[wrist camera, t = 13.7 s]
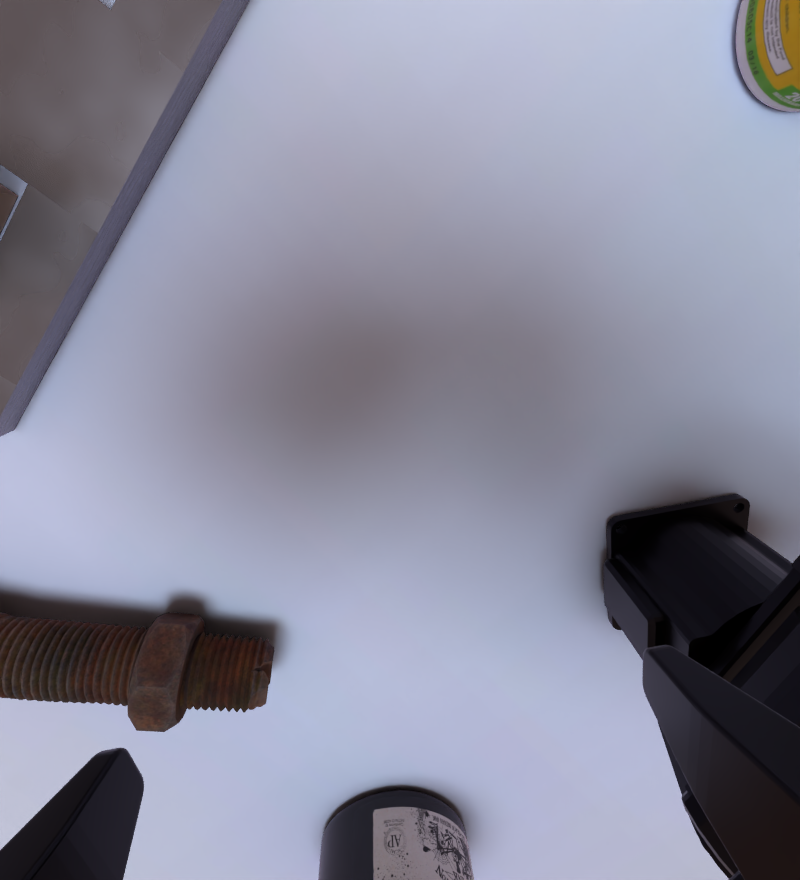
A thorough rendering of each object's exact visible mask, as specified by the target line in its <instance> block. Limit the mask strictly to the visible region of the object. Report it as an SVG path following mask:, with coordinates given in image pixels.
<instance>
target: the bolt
mask: <svg viewBox="0 0 800 880" xmlns="http://www.w3.org/2000/svg"><path fill="white" fill-rule="evenodd" d="M204 624H205V623H204V621H203V620H202V618H201V617H200V616H199V615H194V614H184V613H173V612H171V613H166V614H164V615H161V616H159V617H158V618H156V619H155V621H154V622H153V624H152V625H151V627H150V628H149V629H147V630H146V629H145V627H141V628H140V629H138V627H137V626H134V627H132V628H130V626H128V625H127V626H125V627H122V625H118V626H115V625H114V624H111V625H107V624H101V625H100V624H98V623H93V624H91V623H90V622H86V623H83V622H81V621H80V622H75V621H69V622H68V621H66V620H62V621H59V620H57V619H55V620H51V619H44V620H43V619H42V618H37V619H35V618H29V617H28V618H26V617H17V616H11V615H9V614H7V613H0V697H1V698H11V699H19V700H23V699H27V700H37V701H43V700H45V701H49V702H51V701H54V702H59V701H62V702H67V703H68V702H69V701H70V702H73V703H76V702H81V703H86V702H90V703H95V702H97V703H100V704H102V703H104V702H105V703H106V704H108V705H109V704H111V703H113V704H114V705H119V704H120V703H121V704H122V705H123V706H126V705H128V717H129V718H130V720H131V722H132V723H133V725H134V727H135V728H136V730H138V731H157V732H165V731H166V730H168V729H170V728H171V727H173V726H175V725H176V724H177V723H179V722H180V720H181V719H182V718H183V716H184V714H185V712H186V709H187V708H188V709H191V708H192V707H193V706H194V708H195V709H197V710H198V709H199V708H200V707H202V708H203V709H204V710H207V709H208V708H209V707H210V708H211V710H213V711H214V710H215V709H216V708H217V707H218V708H219V710H220V711H222V710H223V709H224V708H225V707H226V709H227V710H228V711H229V712H230V710H231V709H232V708H234V710H235V711H236V712H238V710H239V709H240V708H241V709H242V711H243V712H245V711H246V710H247V709H248V708H249V709H250V710H253V709H254V708H256V707H261V706H263V705H264V704H265V703H266V699H267V691H268V685H269V684H270V678H271V669H272V661H273V654H274V647H273V646H272V645H271V644H270V642H269V640H268V639H266V640H265V641H264V642H263V640H262V638H261V637H260V638H259V639H258V640H256V638H255V636H254V637H253V638H252V639H251V640H250V639H249V637H248V636H247V637H245V638H244V639H242V637H241V635H240V636H239V637H237V638H236V639H235V637H234V635H232V636H230V637H229V638H228V637H227V635H226V634H225V635H224V636H222V637H220V634H219V633H218V634H217V635H216V636H214V637H213V635H212V633H210V634H209V635H208V636H206V635H205V632H204Z"/></svg>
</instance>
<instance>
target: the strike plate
mask: <svg viewBox="0 0 800 880" xmlns="http://www.w3.org/2000/svg"><path fill="white" fill-rule="evenodd" d="M248 2H249V0H116V1H115V3H114V5H113V7H112V9H111V10H110V9H108V8H107V7H106V6H105V5H104V4H103V3H101V2H100V1H99V0H0V164H1V165H2V166H4V167H5V168H6V169H8V170H9V171H11V172H12V173H13V174H15V175H16V176H18V177H19V178H21V179H22V180H23V181H25V182H26V183H28V185H27V187H26V189H25V191H24V194H23V196H22V198H21V200H20V202H19V204H18V206H17V208H16V210H15V212H14V214H13V217H12V219H11V221H10V223H9V225H8V227H7V229H6V231H5V233H4V235H3V238H2V240H1V242H0V436H2V435H4V434H7V433H9V432H11V431H13V430H14V429H15V427H16V425H17V423H18V421H19V420H20V418H21V416H22V414H23V412H24V410H25V409H26V407H27V405H28V403H29V401H30V400H31V398H32V396H33V394H34V392H35V390H36V389H37V387H38V385H39V383H40V381H41V379H42V378H43V376H44V374H45V372H46V370H47V369H48V367H49V365H50V363H51V361H52V359H53V358H54V356H55V354H56V352H57V350H58V348H59V347H60V345H61V343H62V341H63V339H64V338H65V336H66V334H67V332H68V330H69V328H70V327H71V325H72V323H73V321H74V319H75V317H76V316H77V314H78V312H79V310H80V308H81V307H82V305H83V303H84V301H85V299H86V297H87V296H88V294H89V292H90V290H91V288H92V287H93V285H94V283H95V281H96V279H97V277H98V276H99V274H100V272H101V270H102V268H103V266H104V265H105V263H106V261H107V259H108V257H109V256H110V254H111V252H112V250H113V248H114V246H115V245H116V243H117V241H118V239H119V237H120V235H121V234H122V232H123V230H124V228H125V226H126V225H127V223H128V221H129V219H130V217H131V215H132V214H133V212H134V210H135V208H136V206H137V205H138V203H139V201H140V199H141V197H142V195H143V194H144V192H145V190H146V188H147V186H148V184H149V183H150V181H151V179H152V177H153V175H154V174H155V172H156V170H157V168H158V166H159V164H160V163H161V161H162V159H163V157H164V155H165V153H166V152H167V150H168V148H169V146H170V144H171V143H172V141H173V139H174V137H175V135H176V133H177V132H178V130H179V128H180V126H181V124H182V122H183V121H184V119H185V117H186V115H187V113H188V112H189V110H190V108H191V106H192V104H193V102H194V101H195V99H196V97H197V95H198V93H199V92H200V90H201V88H202V86H203V84H204V82H205V81H206V79H207V77H208V75H209V73H210V71H211V70H212V68H213V66H214V64H215V62H216V61H217V59H218V57H219V55H220V53H221V51H222V50H223V48H224V46H225V44H226V42H227V40H228V39H229V37H230V35H231V33H232V31H233V30H234V28H235V26H236V24H237V22H238V20H239V19H240V17H241V15H242V13H243V11H244V9H245V8H246V6H247V4H248Z"/></svg>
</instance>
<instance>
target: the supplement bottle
mask: <svg viewBox="0 0 800 880" xmlns="http://www.w3.org/2000/svg"><path fill="white" fill-rule="evenodd" d="M736 54H737V60H738V65H739V68H740V72H741V74H742V77H743V79H744V81H745V83H746V85H747V87H748V88H749V89H750V91H751V92H752V93H753V95H754V96H755V97H756V98H757V99H759V100H760V101H761V102H762V103H764V104H765V105H767V106H769V107H772V108H774V109H777V110H782V111H787V112H799V111H800V0H742V2H741V6H740V10H739V14H738V20H737V27H736Z"/></svg>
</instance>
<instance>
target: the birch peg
mask: <svg viewBox="0 0 800 880" xmlns="http://www.w3.org/2000/svg"><path fill="white" fill-rule="evenodd" d="M17 197H18V195H16V194H15V193H13V192H12V191H10V190H9V189H7V188H6V187H5V186H3V185H2V184H0V233H1V231H2V229H3V227H4V225H5V223H6V221H7V218H8V216H9V214H10V212H11V210H12V208H13V206H14V204H15V201H16V199H17Z"/></svg>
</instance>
